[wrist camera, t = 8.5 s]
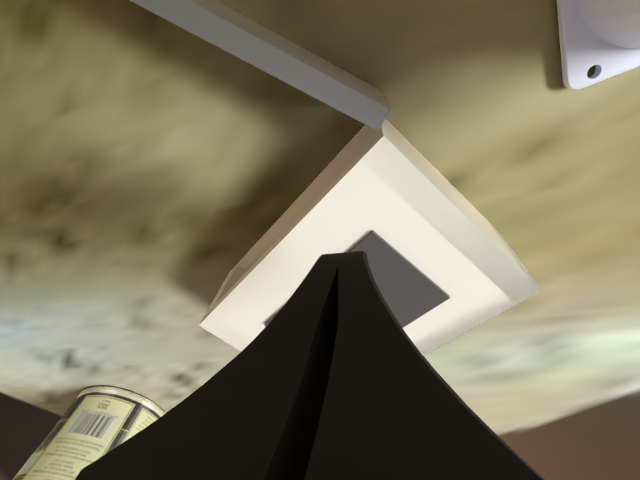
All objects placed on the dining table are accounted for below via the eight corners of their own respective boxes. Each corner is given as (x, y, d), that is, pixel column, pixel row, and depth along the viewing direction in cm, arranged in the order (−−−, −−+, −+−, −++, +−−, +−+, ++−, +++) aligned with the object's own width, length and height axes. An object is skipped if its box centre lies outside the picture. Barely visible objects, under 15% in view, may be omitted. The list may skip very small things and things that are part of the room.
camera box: (500, 233, 19) (544, 293, 14) (337, 345, 25) (331, 410, 21) (377, 110, 16) (384, 137, 11) (229, 271, 22) (197, 328, 18)
